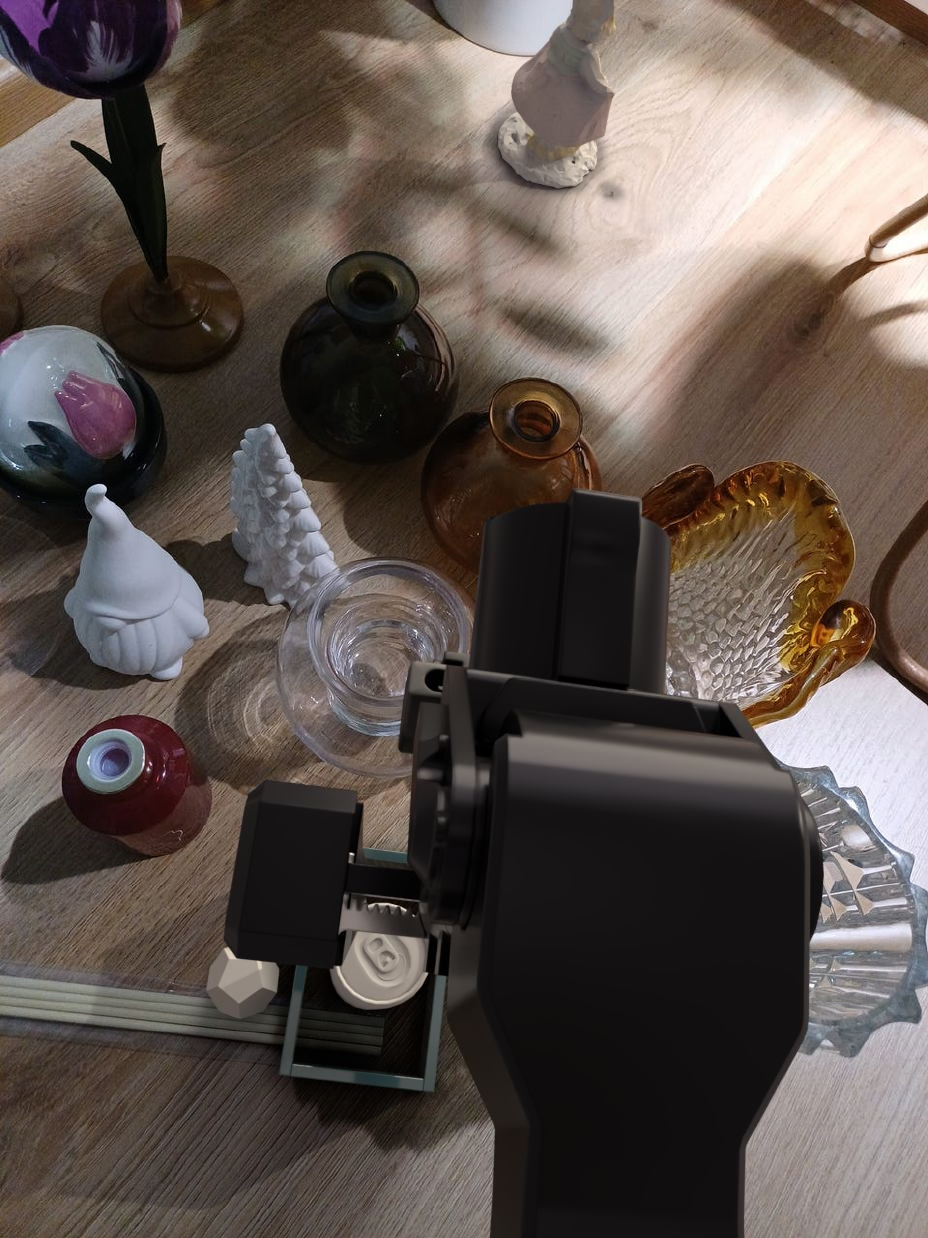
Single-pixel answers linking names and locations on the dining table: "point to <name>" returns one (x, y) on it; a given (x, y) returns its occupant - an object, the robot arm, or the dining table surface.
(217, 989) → the polyhedron
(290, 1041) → the bottomless rectangular frame
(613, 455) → the dining table surface
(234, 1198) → the dining table surface
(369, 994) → the beverage can
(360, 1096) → the dining table surface
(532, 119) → the figurine
